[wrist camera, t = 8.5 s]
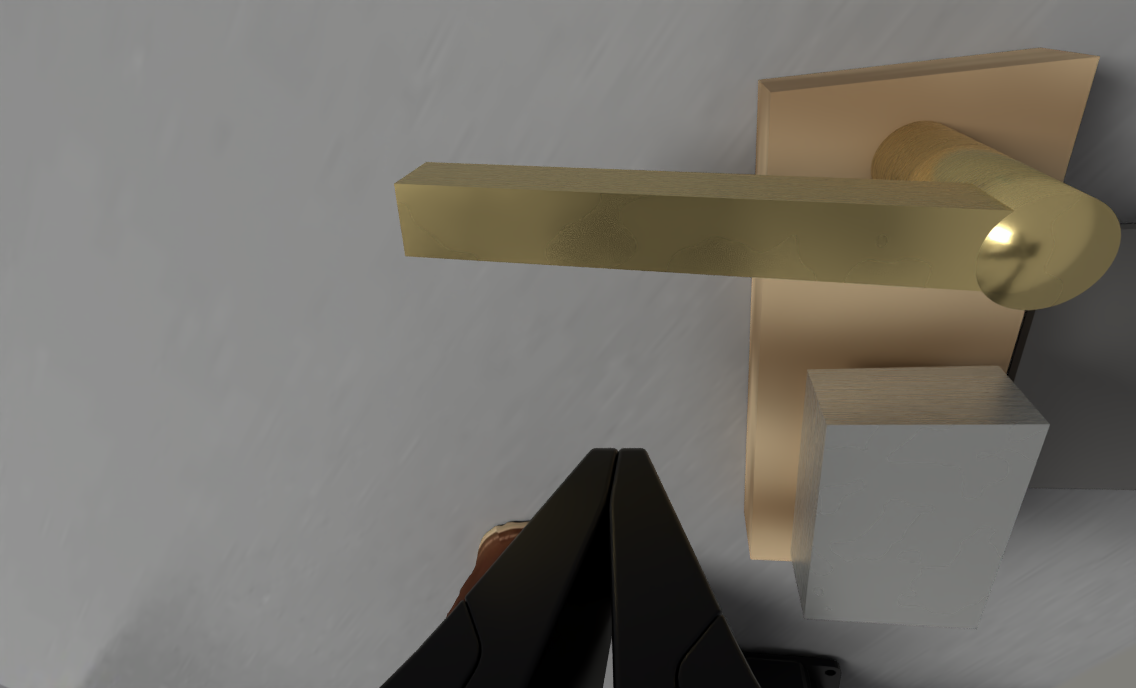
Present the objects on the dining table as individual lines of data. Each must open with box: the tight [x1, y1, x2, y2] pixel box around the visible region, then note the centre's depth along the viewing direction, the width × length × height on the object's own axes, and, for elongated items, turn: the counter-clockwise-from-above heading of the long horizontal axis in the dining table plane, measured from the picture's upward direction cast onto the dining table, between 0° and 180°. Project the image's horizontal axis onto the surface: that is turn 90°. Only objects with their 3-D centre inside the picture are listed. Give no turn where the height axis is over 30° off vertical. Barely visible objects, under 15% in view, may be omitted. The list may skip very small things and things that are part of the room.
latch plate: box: [744, 48, 1100, 561], centre depth 18 cm, size 17×7×4 cm, turn 7°
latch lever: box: [394, 121, 1121, 310], centre depth 13 cm, size 12×2×6 cm, turn 90°
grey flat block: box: [790, 366, 1050, 629], centre depth 17 cm, size 8×5×2 cm, turn 7°
